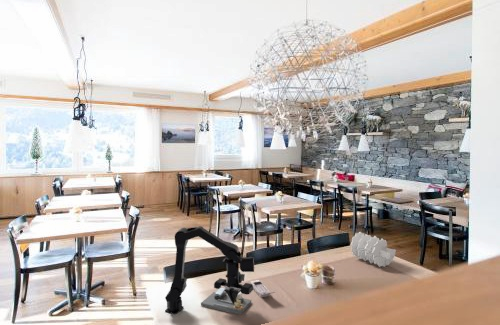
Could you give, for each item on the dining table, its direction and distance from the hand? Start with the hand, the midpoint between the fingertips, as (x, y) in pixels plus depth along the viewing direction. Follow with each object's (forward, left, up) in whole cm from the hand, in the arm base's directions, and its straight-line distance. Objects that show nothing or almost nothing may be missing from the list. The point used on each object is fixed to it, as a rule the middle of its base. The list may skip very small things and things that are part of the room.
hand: (233, 303), depth 147 cm
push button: (-1, +6, 0) cm, 6 cm away
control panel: (-6, +3, -3) cm, 7 cm away
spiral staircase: (+57, +87, -3) cm, 104 cm away
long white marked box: (+6, +21, -4) cm, 22 cm away
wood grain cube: (+2, 0, -1) cm, 3 cm away
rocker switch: (-11, +6, +1) cm, 12 cm away
